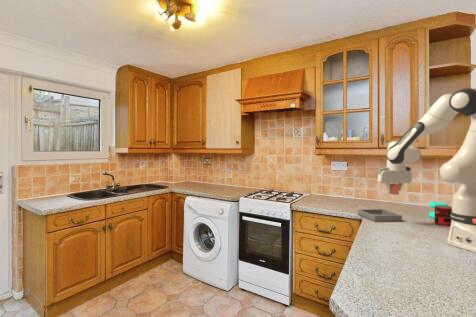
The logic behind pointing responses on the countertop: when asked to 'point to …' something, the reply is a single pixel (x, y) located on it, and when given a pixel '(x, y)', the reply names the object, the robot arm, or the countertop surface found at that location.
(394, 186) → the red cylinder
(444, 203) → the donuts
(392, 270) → the countertop surface
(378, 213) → the grey bin
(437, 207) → the canned food
